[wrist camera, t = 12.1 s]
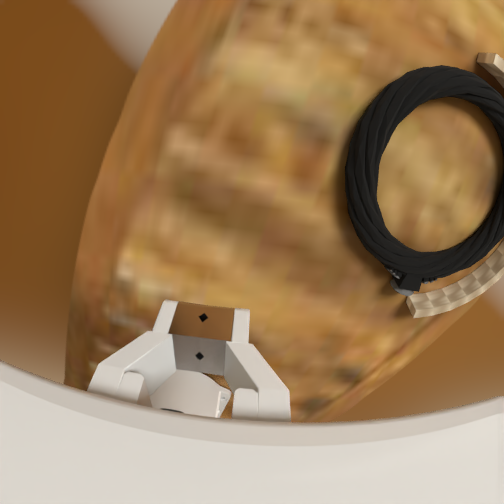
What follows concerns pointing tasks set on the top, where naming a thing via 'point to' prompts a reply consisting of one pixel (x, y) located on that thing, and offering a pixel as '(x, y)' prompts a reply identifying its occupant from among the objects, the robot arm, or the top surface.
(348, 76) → the top surface
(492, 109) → the cable lock
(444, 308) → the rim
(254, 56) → the top surface
